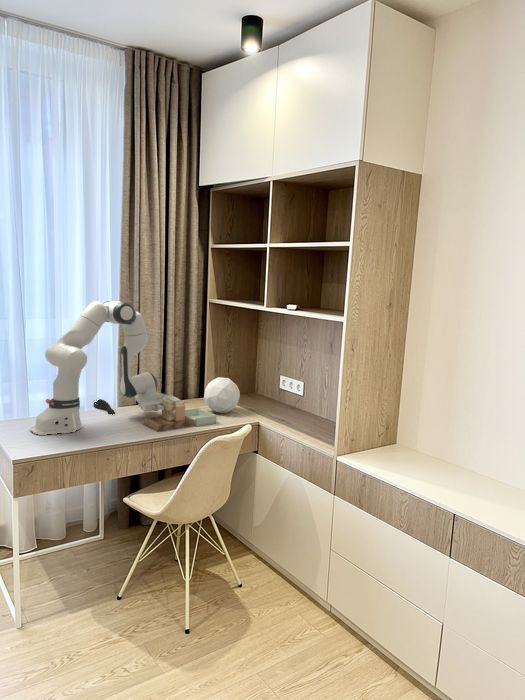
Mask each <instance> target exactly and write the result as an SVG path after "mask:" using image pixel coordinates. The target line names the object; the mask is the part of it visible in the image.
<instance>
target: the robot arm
mask: <svg viewBox="0 0 525 700" xmlns="http://www.w3.org/2000/svg"><path fill="white" fill-rule="evenodd" d="M105 322H106V323H110V324H116V325H119V324H120V325H121V327H122V328H123V329H122V330H123V334H124V344H123V346H122V347H121V348H120V354H119V358H120V359H119V360H120V382H119V391H120V393H121V395H122V396H124V397H125V398H129V399H131V398H134V399H135V400H136V402H137V407H140V409H141V410H142V411H144V412H151V411H153V412H156V411H160V410H161V411H162V410H166V406H162V399H166V398H168V399H170V400H173V401H175V402H180V401H181V399H180V398H178V397H177V396H174V395H172V394H171V393H160V392H157V391H158V381H157V378H156V376H155V375H154V374H153V373H152V372H150V371H146V372H143V373H140V374H136V375H133V376H132V374H131V371H132V369H131V366H132V365H131V364H132V363H131V362H132V359H133V358H134V357H136V355H137V354H138V353H140V352H141V351H143V349H145V347H146V346H147V344H148V340H149V339H148V338H149V337H148V332H147V327H146V323H145V320H144V317H143V315H142V313H140V312H139V311H135V308H134V307H133V305H132V304H130V303H128V302H127V301H119V300H108V301H107V300H106V301H105V302H102V301H97V300H96V301H91V303H89V304H88V305H87V306H86V307H85V309H83V311H82V312H81V313H80V314H79V316H77V319H76V320H75V322H74V323H73V324H72V326H71V327H70V328H69V329H68V330H67V331H66V332H65V333H64V334H63V335H61V337H60V338H59V339H58V340H57V341H56V342H54V343H52V344H50V345H48V347H47V348H46V349H45V354H44V355H45V359H46V360H47V362H48V363H50V364H51V365H52V366H54V367H57V368H58V369H57V375H56V378H55V379H54V380H53V383H52V384H53V385H52V386H53V387H52V393H53V394H52V395H53V396H52V398H51V399H50V398H46V399H45V403H46V404H48V406H47V408H45V409H44V410H43V411H42V412H40V413H39V414H38V415H37V416H36V418H35V425H31V426H30V428H29V431H30V430H31V431H32V432H33V433H32V432H31V431H30V432H31V433H32V434H34V433H35V434H34V435H36V434H38V435H37V436H48V435H47V434H52V435H58V434H57V433H62V434H69V433H70V432H73V433H76V432H77V431H78V430H81V429H82V428H83V424H82V420H81V415H80V405H81V401H80V397H79V395H80V394H79V393H80V391H79V390H80V389H79V385H80V377H81V374H82V371H83V369H84V368H85V367H86V365H87V363H88V355H87V354H86V353H85V352H84V351H83V350H82V349H83V348H84V347H86V346H87V345H90V343H91V342H92V341H93V340H94V338H95V336H97V334H98V333H99V332H100V330H101V328H102V327H103V325H104V324H105ZM181 402H182V401H181ZM76 430H77V431H76ZM75 431H76V432H75ZM70 434H71V433H70Z"/></svg>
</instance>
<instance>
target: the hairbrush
mask: <svg viewBox="0 0 525 700" xmlns="http://www.w3.org/2000/svg"><path fill="white" fill-rule="evenodd" d="M98 399H99V400H98V401H97V402H94V401H93V407H94V408H95V409H97V410H105V411H106V412H107V413H108V415H109V414H112V415H111V416H114V415H113V414H116V411H115V410H114V409H113V408H112V406H111V405H110V404H109V403H108V401H106V400H104V399H102V398H98ZM95 403H96V404H95Z"/></svg>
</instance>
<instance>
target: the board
mask: <svg viewBox="0 0 525 700" xmlns="http://www.w3.org/2000/svg"><path fill="white" fill-rule="evenodd" d="M142 422H143V423H142V424H143V425H144V426H146V427H147V428H150V429H151V430H153V431H155V432H165V431H168V430H169V431H170V430H176V429H182V428H187V427H195V426H194V420H193V419H191V418H189V417H186V416H185V420H179V421H175V420H171V421H169V420H167V419H165V418H163V417H162V415H158V416H152V417H145V418H144V417H143V421H142Z"/></svg>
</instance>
